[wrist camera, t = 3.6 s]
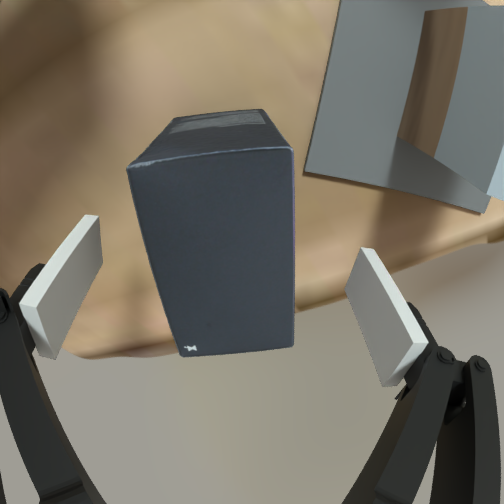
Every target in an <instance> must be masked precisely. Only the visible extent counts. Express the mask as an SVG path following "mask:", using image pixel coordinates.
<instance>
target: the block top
mask: <svg viewBox="0 0 504 504" xmlns="http://www.w3.org/2000/svg"><path fill="white" fill-rule="evenodd" d="M434 159H436V160H437V161H439V162H441V163H442V164H444V165H445V166H447V167H448V168H450V169H451V170H453V171H454V172H456V173H457V174H459V175H460V176H462V177H463V178H464V179H466V180H467V181H469V182H470V183H472V184H473V185H474V186H476V187H477V188H478V189H480V190H481V191H483V192H484V193H485V194H487V195H490V196H492V197H495V198H498V199H500V200H503V201H504V6H472V7H468V12H467V19H466V26H465V32H464V38H463V44H462V50H461V55H460V60H459V65H458V70H457V74H456V79H455V83H454V88H453V92H452V96H451V100H450V104H449V108H448V111H447V115H446V119H445V122H444V126H443V129H442V133H441V136H440V139H439V143H438V146H437V149H436V152H435V156H434Z"/></svg>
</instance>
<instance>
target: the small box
mask: <svg viewBox="0 0 504 504" xmlns="http://www.w3.org/2000/svg"><path fill="white" fill-rule="evenodd" d="M126 171H127V175H128V179H129V184H130V189H131V193H132V197H133V202H134V206H135V210H136V214H137V218H138V222H139V226H140V230H141V233H142V237H143V241H144V245H145V248H146V252H147V255H148V259H149V263H150V266H151V270H152V273H153V276H154V279H155V283H156V286H157V289H158V293H159V296H160V299H161V301H162V305H163V308H164V311H165V314H166V317H167V320H168V323H169V327H170V329H171V332H172V335H173V337H174V340H175V343H176V346H177V349H178V352H179V354H180V356H181V357H195V356H196V357H199V356H211V355H225V354H236V353H246V352H257V351H266V350H274V349H281V348H290V347H292V346H293V345H294V311H295V187H294V151H293V149H292V148H291V147H290V145H289V144H288V143H287V141H286V140H285V138H284V137H283V136H282V134H281V133H280V132H279V130H278V129H277V128H276V126H275V125H274V123H273V122H272V121H271V119H270V118H269V116H268V115H267V114H266V112H265V111H264V110H263V109H253V110H237V111H226V112H217V113H207V114H200V115H192V116H184V117H177V118H174V119H173V120H172V121H171V122H170V123H169V124H168V126H167V127H166V128H165V129H164V130H163V131H162V132H161V133H160V134H159V135H158V136H157V137H156V139H155V140H154V141H152V143H151V144H150V145H149V147H147V148H146V150H145V151H144V152H143V153H142V154H140V155H139V156H138V157H137V158H136V160H134V161H133V162H131V163H130V164H129V165H128V166H127V168H126Z"/></svg>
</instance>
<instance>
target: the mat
mask: <svg viewBox="0 0 504 504" xmlns="http://www.w3.org/2000/svg"><path fill="white" fill-rule="evenodd" d="M472 6H490V5H488V4H487V3H486V2H484V1H483V0H340V3H339V9H338V14H337V19H336V24H335V29H334V34H333V39H332V44H331V49H330V53H329V58H328V63H327V68H326V72H325V77H324V82H323V86H322V91H321V96H320V100H319V105H318V109H317V114H316V118H315V122H314V127H313V131H312V136H311V140H310V144H309V148H308V153H307V157H306V161H305V165H304V171H306V172H312V173H317V174H323V175H328V176H333V177H338V178H344V179H349V180H353V181H358V182H363V183H368V184H372V185H377V186H381V187H386V188H390V189H394V190H399V191H403V192H407V193H411V194H415V195H419V196H423V197H427V198H430V199H434V200H438V201H442V202H445V203H449V204H453V205H456V206H460V207H463V208H467V209H470V210H473V211H477V212H480V213H483V214H484V213H485V211H486V208H487V206H488V203H489V201H490V198H491V196H490V195H487V194H485V193H484V192H483V191H481V190H480V189H478V188H477V187H476V186H474V185H473V184H472V183H470V182H469V181H467V180H466V179H464V178H463V177H462V176H460V175H459V174H457V173H456V172H454V171H453V170H451V169H450V168H448V167H447V166H445V165H444V164H442V163H441V162H439V161H437V160H436V159H434V158H433V157H431V156H430V155H428V154H426V153H425V152H423V151H421V150H420V149H418V148H416V147H415V146H413V145H411V144H410V143H408V142H406V141H405V140H403V139H401V138H399V137H398V136H397V133H398V130H399V126H400V122H401V119H402V115H403V111H404V107H405V103H406V99H407V95H408V91H409V87H410V83H411V79H412V74H413V70H414V65H415V61H416V56H417V51H418V46H419V41H420V36H421V31H422V25H423V19H424V13H425V11H429V10H437V9H446V8H457V7H472Z"/></svg>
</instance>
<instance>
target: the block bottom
mask: <svg viewBox="0 0 504 504" xmlns="http://www.w3.org/2000/svg"><path fill="white" fill-rule="evenodd" d="M467 12H468V7H457V8H446V9H437V10H429V11H425V13H424V19H423V25H422V31H421V36H420V41H419V46H418V51H417V56H416V61H415V65H414V70H413V74H412V79H411V83H410V87H409V91H408V95H407V99H406V103H405V107H404V111H403V115H402V119H401V122H400V126H399V130H398V133H397V136H398V137H399V138H401V139H403V140H405V141H406V142H408V143H410V144H411V145H413V146H415V147H416V148H418V149H420V150H421V151H423V152H425V153H426V154H428V155H430V156H431V157H433V158H434V156H435V152H436V149H437V146H438V143H439V139H440V136H441V133H442V129H443V126H444V122H445V119H446V115H447V111H448V108H449V104H450V100H451V96H452V92H453V88H454V83H455V79H456V74H457V70H458V65H459V60H460V55H461V50H462V44H463V38H464V32H465V26H466V19H467Z"/></svg>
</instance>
